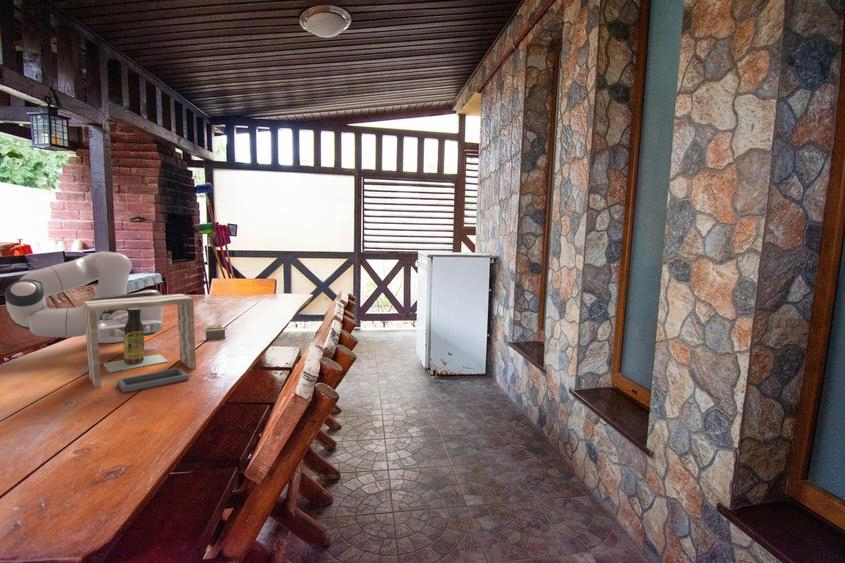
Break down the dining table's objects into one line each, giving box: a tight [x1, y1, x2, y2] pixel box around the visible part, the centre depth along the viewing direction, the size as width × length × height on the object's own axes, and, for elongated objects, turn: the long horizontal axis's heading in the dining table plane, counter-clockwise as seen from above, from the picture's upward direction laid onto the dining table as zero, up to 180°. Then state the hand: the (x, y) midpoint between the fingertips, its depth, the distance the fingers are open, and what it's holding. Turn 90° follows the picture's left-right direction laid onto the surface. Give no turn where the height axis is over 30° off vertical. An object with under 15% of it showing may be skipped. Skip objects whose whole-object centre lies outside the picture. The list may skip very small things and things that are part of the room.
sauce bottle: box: [123, 308, 145, 364], centre depth 157 cm, size 7×6×20 cm
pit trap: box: [116, 367, 189, 394], centre depth 140 cm, size 10×18×2 cm, turn 134°
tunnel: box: [83, 293, 197, 389], centre depth 148 cm, size 14×29×26 cm, turn 134°
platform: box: [202, 324, 228, 341], centre depth 196 cm, size 12×18×7 cm, turn 119°
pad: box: [102, 353, 169, 373], centre depth 159 cm, size 12×18×1 cm, turn 134°
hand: (134, 332), depth 157 cm, fingers closed on sauce bottle, 6 cm apart
